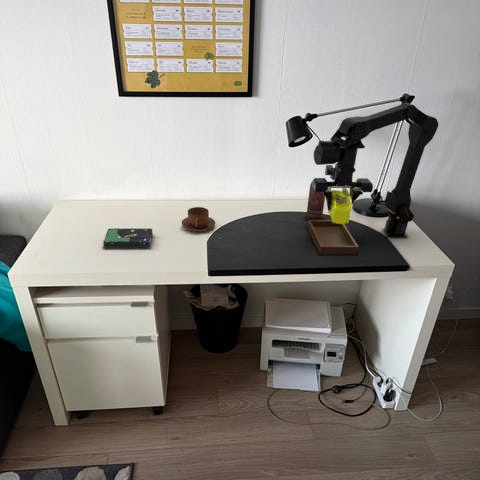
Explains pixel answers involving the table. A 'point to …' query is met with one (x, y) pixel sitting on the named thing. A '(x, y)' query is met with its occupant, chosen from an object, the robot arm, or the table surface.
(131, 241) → the disk drive
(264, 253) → the table surface
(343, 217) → the yellow toy chassis
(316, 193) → the can
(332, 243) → the tray
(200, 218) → the cup and saucer
